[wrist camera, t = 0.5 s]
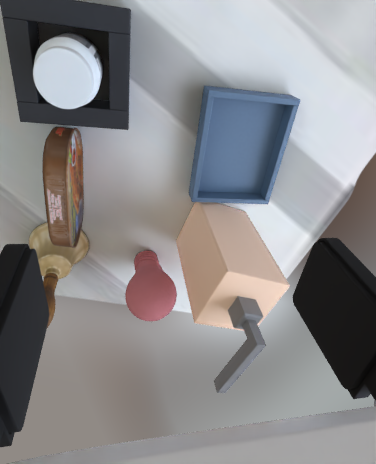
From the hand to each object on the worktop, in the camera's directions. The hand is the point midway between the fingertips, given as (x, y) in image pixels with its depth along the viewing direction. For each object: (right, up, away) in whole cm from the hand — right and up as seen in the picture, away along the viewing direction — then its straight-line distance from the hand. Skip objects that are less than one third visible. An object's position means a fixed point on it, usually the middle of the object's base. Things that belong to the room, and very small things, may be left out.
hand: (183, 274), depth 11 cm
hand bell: (-19, 0, +36) cm, 40 cm away
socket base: (-12, +20, +23) cm, 32 cm away
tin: (-15, +9, +30) cm, 35 cm away
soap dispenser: (+3, +1, +40) cm, 40 cm away
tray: (+7, +13, +32) cm, 35 cm away
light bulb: (-6, -2, +40) cm, 41 cm away
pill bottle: (-12, +20, +23) cm, 33 cm away
